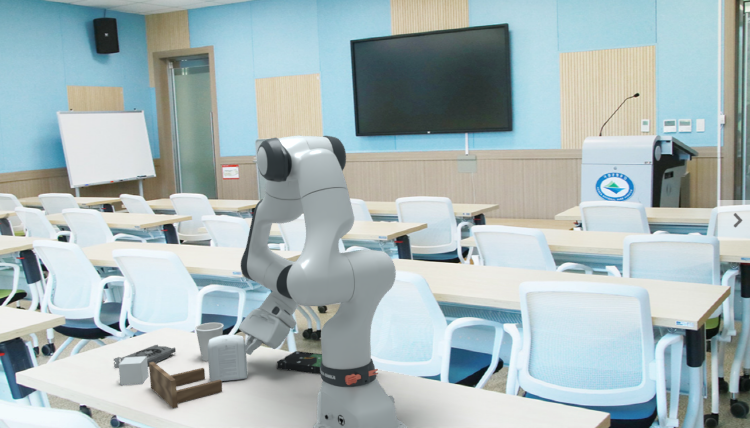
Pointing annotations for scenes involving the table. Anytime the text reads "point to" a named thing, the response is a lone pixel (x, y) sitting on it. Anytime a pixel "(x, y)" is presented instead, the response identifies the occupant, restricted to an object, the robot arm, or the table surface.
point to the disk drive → (301, 362)
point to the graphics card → (150, 354)
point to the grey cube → (133, 370)
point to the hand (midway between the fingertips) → (245, 352)
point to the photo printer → (227, 358)
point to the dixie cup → (207, 336)
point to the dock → (168, 383)
